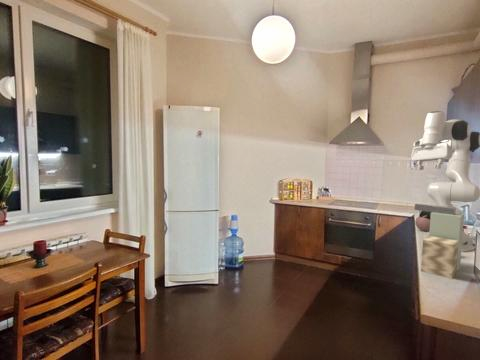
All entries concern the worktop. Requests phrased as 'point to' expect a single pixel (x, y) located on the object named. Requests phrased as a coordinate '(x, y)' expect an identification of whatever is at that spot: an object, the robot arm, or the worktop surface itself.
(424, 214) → the squash
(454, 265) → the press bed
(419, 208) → the lever bar
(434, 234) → the column
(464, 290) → the worktop surface
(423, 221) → the pink toy umbrella
